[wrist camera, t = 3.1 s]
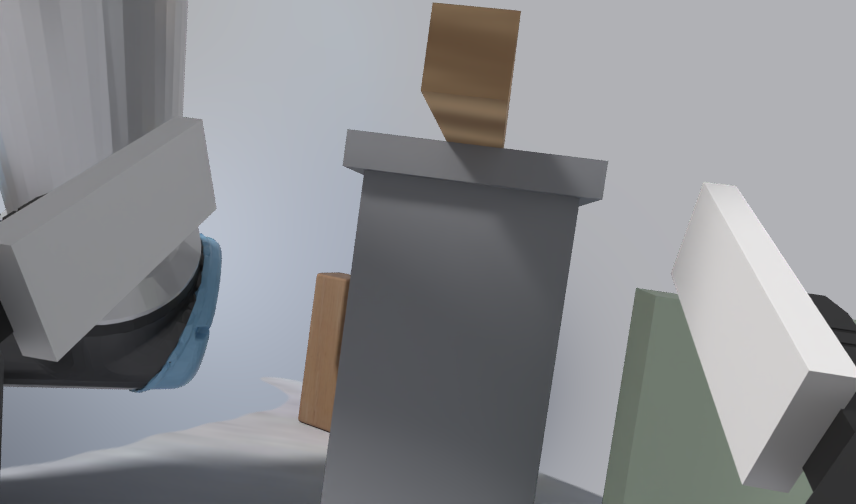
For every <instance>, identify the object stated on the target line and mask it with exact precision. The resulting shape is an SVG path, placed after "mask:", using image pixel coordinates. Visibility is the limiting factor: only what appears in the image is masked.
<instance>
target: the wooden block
mask: <svg viewBox="0 0 856 504" xmlns="http://www.w3.org/2000/svg"><path fill="white" fill-rule="evenodd" d="M350 277H351V275H349V274H344V273H319V274H318V275H317V278H316V286H315V294H314V302H313V309H312V317H311V325H310V332H309V340H308V348H307V356H306V363H305V371H304V379H303V386H302V394H301V402H300V410H299V417H298V419H299V421H301V422H303V423H306V424H309V425H312V426H314V427H317V428H320V429H323V430H326V431H328V432H330V428H331V420H332V413H333V405H334V398H335V390H336V383H337V375H338V367H339V360H340V352H341V345H342V337H343V330H344V322H345V314H346V307H347V299H348V292H349V284H350Z"/></svg>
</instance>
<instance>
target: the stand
mask: <svg viewBox="0 0 856 504" xmlns="http://www.w3.org/2000/svg"><path fill="white" fill-rule="evenodd" d="M607 165H608V161H602V160H594V159H586V158H578V157H570V156H562V155H552V154H544V153H537V152H529V151H520V150H513V149H504V148H496V147H488V146H480V145H472V144H464V143H455V142H447V141H439V140H431V139H423V138H415V137H407V136H398V135H390V134H382V133H374V132H366V131H358V130H349V129H348V130H347V137H346V145H345V153H344V161H343V166H345V167H347V168H349V169H351V170H354V171H356V172H358V173H361V174H363V175H364V178H363V186H362V194H361V202H360V209H359V216H358V224H357V231H356V239H355V246H354V254H353V262H352V270H351V277H350V284H349V292H348V299H347V307H346V314H345V322H344V330H343V337H342V345H341V352H340V360H339V367H338V375H337V383H336V390H335V398H334V405H333V413H332V420H331V428H330V436H329V443H328V451H327V458H326V466H325V473H324V481H323V489H322V496H321V504H534V497H535V491H536V484H537V478H538V471H539V464H540V458H541V451H542V444H543V438H544V431H545V424H546V418H547V412H548V405H549V398H550V391H551V385H552V378H553V372H554V365H555V358H556V352H557V346H558V339H559V332H560V326H561V319H562V313H563V306H564V300H565V293H566V286H567V279H568V273H569V266H570V260H571V253H572V247H573V240H574V234H575V227H576V220H577V214H578V207H579V206H582V205H585V204H588V203H592V202H595V201H599V200H602V197H603V191H604V184H605V177H606V171H607Z"/></svg>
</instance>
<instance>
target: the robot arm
mask: <svg viewBox="0 0 856 504" xmlns="http://www.w3.org/2000/svg"><path fill="white" fill-rule="evenodd" d="M187 8H188V0H0V190H1V194H2V197H3V201H4V204H5V208H6V209H5V210H4V211H3V213H2V214H0V468H1V437H2V407H3V386H7V387H48V388H88V389H129V390H130V391H132V392H139V393H140V392H143V391H147V390H150V389H175V388H179V387H182V386H184V385H186V384H187V383H189V382H190V381H191V380H192V379H193V377H194V376H195V375H196V373H197V371H198V369H199V367H200V365H201V362H202V359H203V356H204V353H205V350H206V346H207V342H208V339H209V328H210V327H211V324H212V321H213V317H214V314H215V309H216V303H217V297H218V291H219V284H220V275H221V262H222V260H221V259H222V255H221V248H220V245H219V244H218V243H217V242H216V241H215V240H214V239H212V238H210V237H205V236H204V235H203V234H199V229H198V226H199V225H200V224H201V223H202V222H203V221H204V220H205V219H206V218H207V217H208V216H209V215H211V213H212V212H214V211H215V210H216V203H215V197H214V190H213V184H212V178H211V171H210V165H209V159H208V154H207V147H206V140H205V134H204V128H203V121H202V119H194V118H187V117H183V97H184V96H183V95H184V75H185V73H184V72H185V53H186V31H187V30H186V29H187ZM671 275H672V278H673V281H674V284H675V287H676V290H677V293H678V296H679V299H680V302H681V305H682V308H683V311H684V314H685V317H686V320H687V323H688V326H689V329H690V332H691V335H692V338H693V341H694V344H695V347H696V350H697V353H698V356H699V359H700V362H701V364H702V367H703V370H704V373H705V376H706V379H707V382H708V385H709V388H710V391H711V394H712V397H713V400H714V403H715V406H716V409H717V412H718V415H719V418H720V421H721V424H722V427H723V430H724V433H725V436H726V439H727V442H728V444H729V447H730V450H731V453H732V456H733V459H734V462H735V465H736V468H737V471H738V474H739V477H740V480H741V483H742V485H745V486H751V487H756V488H762V489H768V490H773V491H779V492H784V493H789V491H790V490H791V488H792V487H793V485H794V484H795V482H796V481H797V479H798V478H799V476H800V475H801V473H802V472H803V471H804V473H805V475H806V478H807V480H808V482H809V484H810V486H811V489H812V491H813V493H812V494H811V496H810V497H809V499H808V500H807V501H806V503H805V504H856V324H855V323H854V321H853V320H852V318H851V317H850V316H849V315H848V313H847V312H845V311H844V310H843V309H842V308H840V307H839V306H838V305H836V304H835V303H834V302H832V301H831V300H830V299H829V298H827V297H826V296H822V295H815V294H808V293H807V292H806V291H805V289H804V288H803V286H802V285H801V283H800V282H799V280H798V279H797V277H796V275H795V274H794V272H793V271H792V270H791V269H790V266H789V265H788V264H787V262H786V261H785V259H784V258H783V256H782V255H781V253H780V252H779V250H778V248H777V247H776V245H775V244H774V242H773V241H772V239H771V238H770V236H769V235H768V233H767V232H766V231H765V229H764V227H763V226H762V224H761V223H760V221H759V220H758V218H757V217H756V215H755V214H754V212H753V211H752V209H751V208H750V206H749V205H748V203H747V202H746V200H745V199H744V197H743V196H742V194H741V193H740V191H739V190H738V188H737V187H736V186H733V185H724V184H717V183H708V182H703V185H702V188H701V191H700V193H699V196H698V199H697V202H696V205H695V207H694V210H693V213H692V216H691V219H690V221H689V224H688V227H687V230H686V233H685V235H684V238H683V241H682V244H681V246H680V249H679V252H678V255H677V258H676V260H675V263H674V266H673V269H672V272H671Z"/></svg>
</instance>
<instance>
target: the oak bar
mask: <svg viewBox="0 0 856 504" xmlns="http://www.w3.org/2000/svg"><path fill="white" fill-rule="evenodd" d="M520 13H521V11H515V10H505V9H495V8H494V9H493V8H484V7H474V6H464V5H453V4H443V3H433V6H432V12H431V20H430V27H429V34H428V42H427V49H426V57H425V64H424V71H423V79H422V86H421V92H422V94H423V96H424V98H425V100H426V102H427V104H428V106H429V108H430V110H431V111H432V113H433V115H434V117H435V119H436V121H437V123H438V125H439V127H440V129H441V131H442V133H443V135H444V137H445V139H446V141H447V142H455V143H464V144H472V145H480V146H488V147H496V148H504V142H505V134H506V125H507V118H508V110H509V102H510V94H511V85H512V78H513V70H514V61H515V53H516V46H517V37H518V30H519V22H520Z"/></svg>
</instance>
